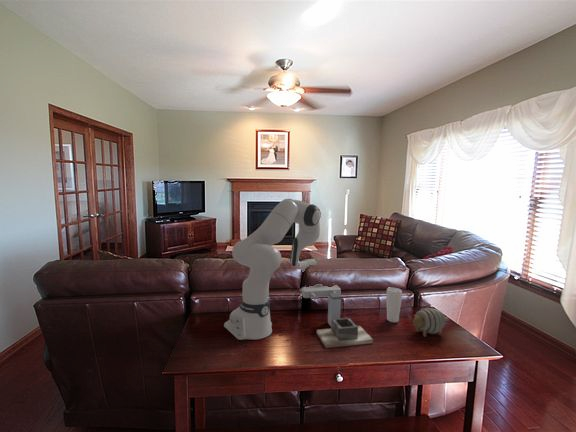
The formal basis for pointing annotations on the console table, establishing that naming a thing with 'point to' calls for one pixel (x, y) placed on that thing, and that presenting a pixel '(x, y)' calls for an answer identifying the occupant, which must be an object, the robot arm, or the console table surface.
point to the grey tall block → (334, 307)
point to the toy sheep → (429, 321)
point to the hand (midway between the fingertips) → (325, 297)
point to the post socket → (343, 334)
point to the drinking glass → (393, 304)
